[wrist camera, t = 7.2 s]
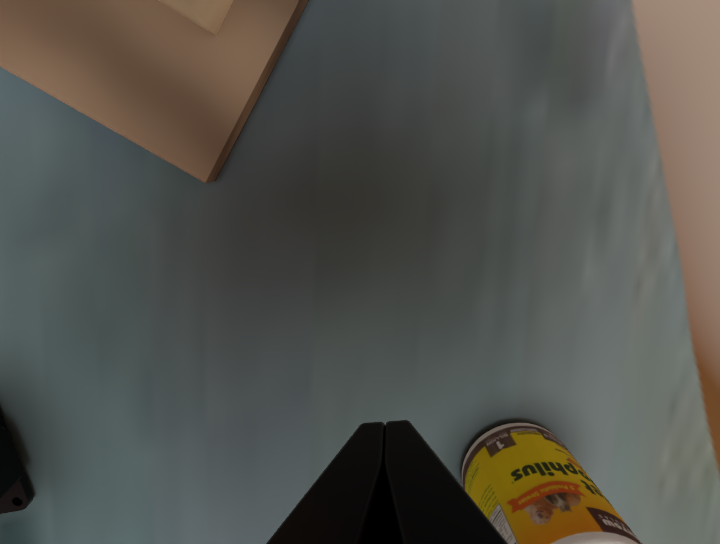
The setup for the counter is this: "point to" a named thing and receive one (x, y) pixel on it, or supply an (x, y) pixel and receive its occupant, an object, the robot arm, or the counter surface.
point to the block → (202, 12)
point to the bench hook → (151, 68)
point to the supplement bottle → (538, 490)
